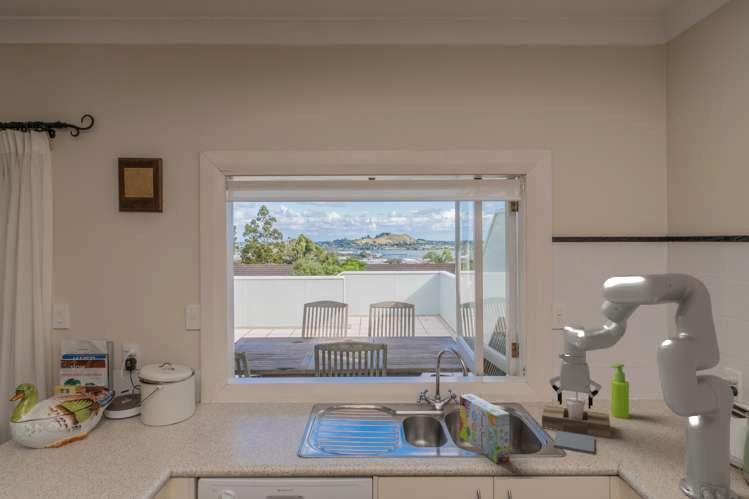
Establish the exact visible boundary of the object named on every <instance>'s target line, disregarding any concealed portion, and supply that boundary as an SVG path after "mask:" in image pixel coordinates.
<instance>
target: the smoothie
mask: <svg viewBox="0 0 749 499" xmlns="http://www.w3.org/2000/svg"><path fill="white" fill-rule="evenodd" d="M578 394H579V392H575V397H568V398H566V399H565V403H566V408H568V415H569V418H573V419H580V420H582V417H583V411H585V410H584V407H585V406H586V402H585V400H583V399H580V398H579V397H578V396H579V395H578Z"/></svg>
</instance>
